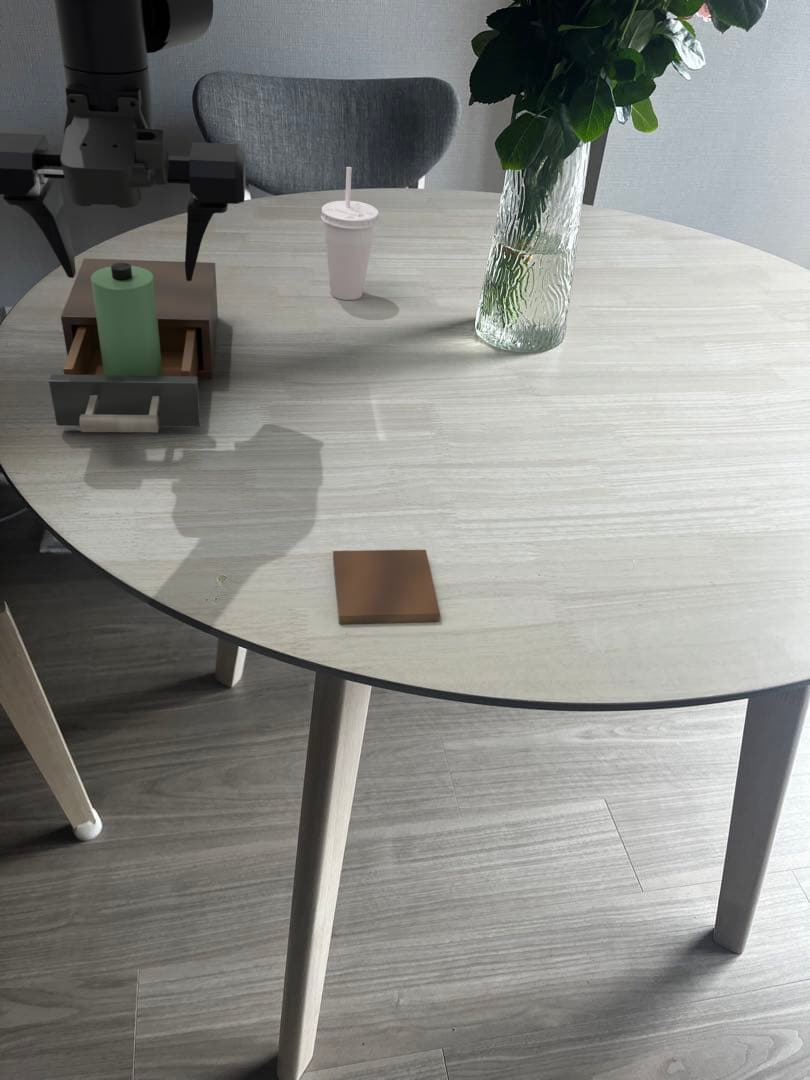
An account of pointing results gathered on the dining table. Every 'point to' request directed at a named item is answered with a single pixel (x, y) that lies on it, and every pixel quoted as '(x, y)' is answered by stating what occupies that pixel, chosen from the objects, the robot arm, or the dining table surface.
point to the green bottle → (127, 320)
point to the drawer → (128, 387)
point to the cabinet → (173, 302)
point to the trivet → (384, 587)
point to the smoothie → (348, 243)
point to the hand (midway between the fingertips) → (131, 277)
